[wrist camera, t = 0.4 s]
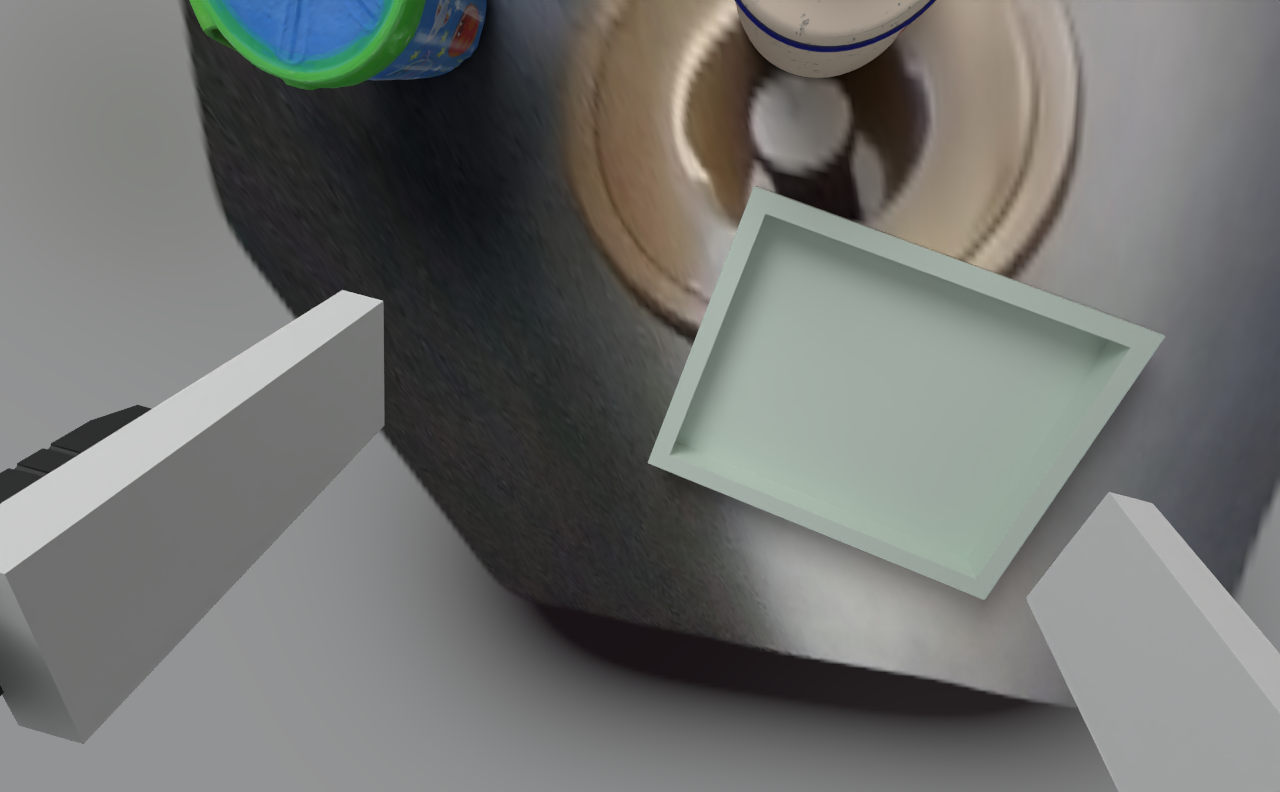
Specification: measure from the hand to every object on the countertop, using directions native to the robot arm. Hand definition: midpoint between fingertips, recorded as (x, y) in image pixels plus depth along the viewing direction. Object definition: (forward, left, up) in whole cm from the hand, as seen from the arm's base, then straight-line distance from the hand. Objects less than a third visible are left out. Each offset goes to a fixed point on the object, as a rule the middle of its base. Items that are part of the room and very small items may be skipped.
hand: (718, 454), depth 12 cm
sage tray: (+4, +8, -25) cm, 26 cm away
